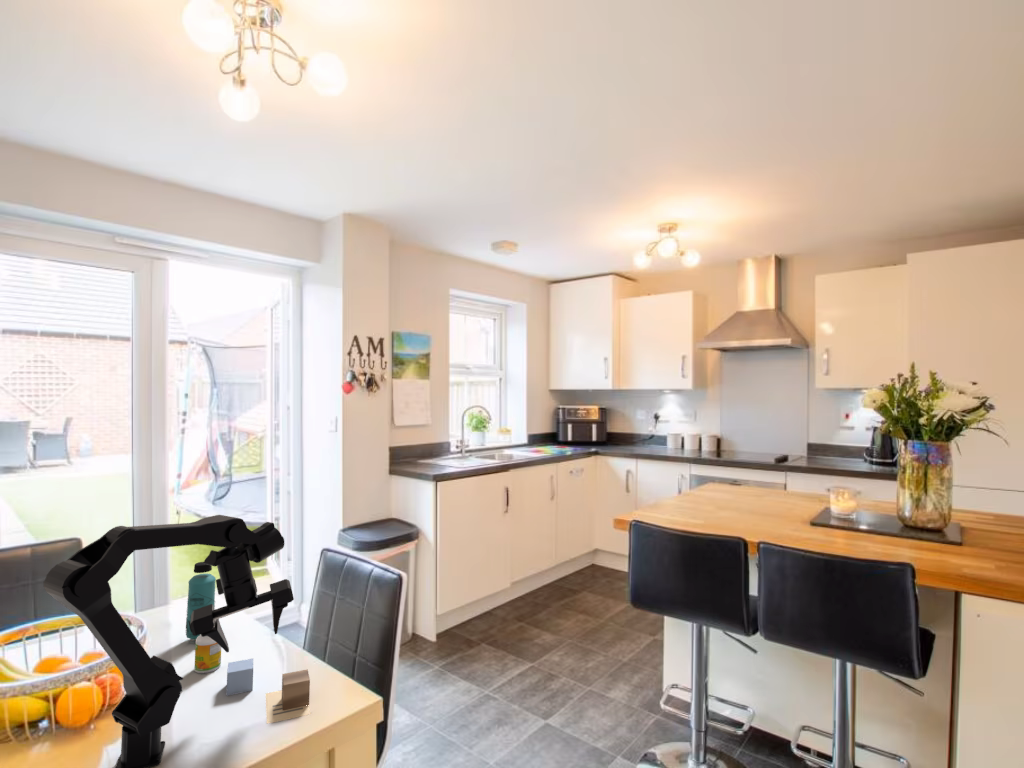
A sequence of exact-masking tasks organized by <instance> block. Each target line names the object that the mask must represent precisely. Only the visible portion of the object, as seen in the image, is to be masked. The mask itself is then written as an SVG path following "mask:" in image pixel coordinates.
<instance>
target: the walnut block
mask: <svg viewBox="0 0 1024 768" xmlns="http://www.w3.org/2000/svg"><path fill="white" fill-rule="evenodd" d="M310 685H311V679H310V675H309V670H308V669H307V668H306V669H301V670H297V671H292V672H287V673H282V679H281V690H282V708H283V710H288V709H292V708H297V707H302V706H306V705H309V706H310V692H311V691H310V690H311V689H310Z"/></svg>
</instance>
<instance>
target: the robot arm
mask: <svg viewBox="0 0 1024 768" xmlns="http://www.w3.org/2000/svg"><path fill="white" fill-rule="evenodd" d="M192 545H193V546H194V545H203V546H209V547H210V546H211V547H219V548H222V549H220V550H218V551H217V550H213V549H212V550H210V552H209V554H208V555H207V556H206V557H205V558H204V560H203V562H204V564H207V565H211V566H212V567H217V571H218V576H219V578H217V579H216V581H215V585H216V590H217V594H218V596H220V595H223V596H224V599H225V602H226V605H225V606H224V605H223V606H222V607H219V608H217V609H216V608H215V606H213V604H210V605H207V606H204V607H201V608H198V609H196V610H194V611H193V612H192V614H191V623H190V625H191V630H192V634H193V635H194V636H197V635H199V634H201V636H202V637H204V636H208V637H210V638H211V639H213V640H214V641H216V642H217V643H218V644H219V645H220V646H221V649H223V650H224V651H225V653H230V647H229V643H228V640H227V637H226V635H225V633H224V631H223V629H222V625H221V622H220V619H222V618H225V617H228V616H230V615H233V614H236V613H237V614H238V613H239V612H242V611H245V610H248V609H250V608H253V607H256V606H259V605H262V604H265V603H268V602H271V612H272V614H271V615H272V627H273V631H274V635H277V634H278V630H279V625H280V620H281V616H282V613H283V611H284V609H285V608H287V607H288V606H289V603H292V602H293V601H294V599H295V598H294V593H293V590H292V589H293V588H292V585H291V581H290V580H289V579H288V578H285V579H282V580H279V581H277V582H274V583H270V584H269V588H270V590H269V591H266V592H263V593H260V594H258V588H257V583H256V579H255V578H254V575H253V572H252V566H251V563H250V562H253V563H257V564H259V563H261V562H263V561H264V560H266V559H269V558H270V557H271V556H272V555H274V554H276V553H277V552H279V551H281V550H283V549H284V548H285V538H284V536H283V535H282V533H281V532H280V530H278V529H277V528H276V527H275V523H274V522H270V521H266V522H264V523H263V524H261V525H260V526H259V527H257V528H254V529H253V530H251V529H249V528H248V527H247V523H246V522H245V521H244V519H243V518H239V517H234V516H231V515H230V516H229V515H224V514H214V515H212V516H207V517H204V518H200V519H198V520H197V521H192V522H186V523H185V522H183V523H167V524H153V525H150V524H149V525H138V526H137V525H136V526H125V525H117V526H115V527H112V528H111V529H109V530H108V531H106V533H104V534H103V535H102V536H100V538H98V539H96V540H95V541H93V542H91V543H89V544H88V545H86V546H83V548H81V549H79V550H77V551H76V552H75V553H73V555H71V556H70V557H69V558H67V560H63V561H61V562H59V563H57V564H55V565H54V566H53V567H52V568H51V569H50V570H49V571H48V573H47V574H46V576H45V579H44V581H43V587H44V590H45V592H46V593H47V594H48V595H50V596H51V597H52V598H53V599H54V600H56V601H57V602H58V603H59V604H61V605H62V606H64V607H65V608H67V609H68V610H69V611H71V612H72V613H74V614H75V615H77V616H78V617H79V618H80V620H81V621H82V622H83V623H84V624H85V626H86V627H87V629H88V630H89V631H90V633H91V634H92V635H93V636H94V638H95V639H96V641H97V642H98V643H99V644H100V646H101V647H102V649H103V650H104V651H105V653H106V654H107V655H108V657H109V658H110V659H111V661H112V662H113V663H114V665H115V666H116V668H118V670H119V672H121V674H122V675H121V676H122V681H123V682H122V683H123V689H124V692H125V693H126V694H125V695H124V696H123V697H122V699H121V700H120V701H119V703H118V704H117V705H116V706H115V708H114V709H113V710H112V711H111V715H112V718H113V720H114V722H115V723H116V724H119V725H121V741H120V744H121V745H120V746H121V747H120V748H121V749H120V755H119V757H118V759H117V763H116V766H115V768H151V767H154V766H158V765H161V763H162V758H163V754H164V750H165V747H166V741H165V740H163V741H162V727H164V726H166V725H169V723H170V722H171V719H172V717H173V713H174V711H175V707H176V704H177V702H178V700H179V699H180V696H181V694H182V692H183V686H182V683H181V682H180V681H181V680H183V679H184V678H183V676H180V675H179V674H178V673H177V671H176V669H175V666H174V664H173V662H170V661H168V660H166V659H163V658H160V657H159V656H156V655H152V656H151V657H150V655H149V653H148V652H147V651H146V650H145V648H144V647H143V646H142V643H141V642H140V641H139V640H138V638H137V637H136V635H135V634H134V633H133V631H132V629H131V627H129V625H128V624H127V622H126V621H125V620H124V618H123V617H122V615H121V614H120V612H119V611H118V610H117V608H116V607H115V605H114V604H113V601H112V587H111V585H110V583H109V581H110V580H111V579H112V578H113V577H114V576H116V575H117V574H118V573H119V571H120V570H121V568H122V566H124V564H125V562H126V561H127V560H128V558H129V557H130V555H132V554H133V553H134V552H135V551H141V550H152V549H162V548H171V547H184V546H192Z"/></svg>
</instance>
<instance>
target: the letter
mask: <svg viewBox="0 0 1024 768" xmlns="http://www.w3.org/2000/svg"><path fill="white" fill-rule="evenodd" d="M308 710H309V711H308ZM265 712H266V714H265V715H266V724H273V723H277V722H281V721H282V722H283V721H286V720H287V721H288V720H291V719H295V718H299V717H304V716H308V715H309V716H310V715H311V709H310V705H309V706H308V705H307V706H302V707H297V708H292V709H288V710H283V708H282V689H281V690H277V691H272V692H267V693H265Z"/></svg>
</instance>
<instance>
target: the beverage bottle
mask: <svg viewBox="0 0 1024 768" xmlns="http://www.w3.org/2000/svg"><path fill="white" fill-rule="evenodd" d="M193 566H194V568H193V572H194V573H195V574H196V575H194V576H192V577H191V578H190V579H189V580H188V589H187V602H186V603H187V605H186V606H187V608H186V614H185V616H186V617H185V618H186V619H185V620H186V622H185V636H186V638H187V639H190V640H196V639H197V637H198V636H200V634H199V635H197V636H194V635H193V634H192V630H191V625H190V623H191V614H192V612H193V611H194V610H196V609H198V608H201V607H204V606H207V605H210V604H213V606H214V607H216V605H215V604H216V600H215V596H216V592H215V591H216V580H217V579H216V577H215V576H214V575H212V574H211V573H209V572H212V570H213V566H211V565H207V564H204V561H199V562H197V563H195V564H194V565H193Z"/></svg>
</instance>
